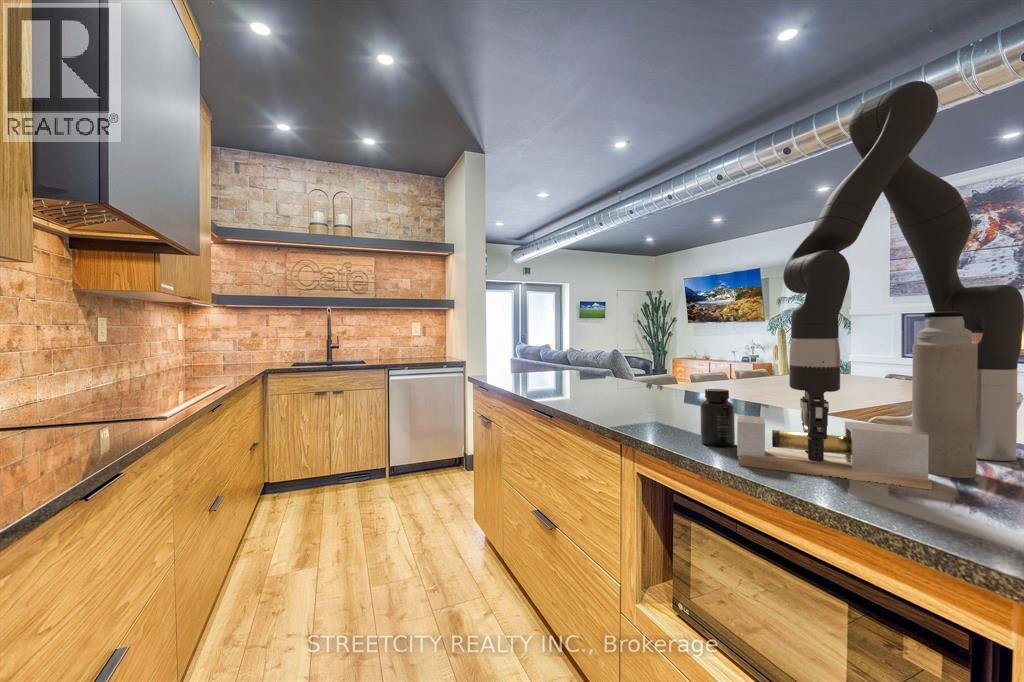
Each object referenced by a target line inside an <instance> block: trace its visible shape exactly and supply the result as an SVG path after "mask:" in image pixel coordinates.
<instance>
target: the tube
mask: <svg viewBox="0 0 1024 682" xmlns="http://www.w3.org/2000/svg"><path fill="white" fill-rule="evenodd" d="M771 433H772V434H771V441H772V443H771V447H772V448H776V449H777V448H779V449H788V450H797V451H798V450H799V451H804V452H805V451H808V438H807V433H806V432H801V431H800V432H799V431H788V430H776V429H772V431H771ZM825 453H826V454H832V455H833V454H835V455H843V456H845V455H851V437H847V436H845V435H833V434H827V438H826V439H825V441H824V454H825Z"/></svg>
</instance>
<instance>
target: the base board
mask: <svg viewBox="0 0 1024 682" xmlns="http://www.w3.org/2000/svg"><path fill="white" fill-rule="evenodd" d="M738 466H744V467H751V468H757V469H758V468H760V469H768V470H772V471H773V470H774V471H775V470H776V471H781V470H782V472H789V473H790V472H791V473H799V474H805V473H806V474H805V475H807V474H808V475H814V476H820V475H823V476H822V477H828V476H832V477H831V478H836V477H840V478H839V479H844V478H847V479H846V480H854V481H861V482H868V481H870V482H869V483H875V482H878V483H877V484H883V483H887V484H886V485H891V484H894V485H893V486H899V485H901V487H908V488H915V489H916V488H917V489H924V490H932V486H933V483H932V482H933V481H932V480H930V479H929V478H928V479H926V478H918V477H909V476H901V475H892V474H884V473H876V472H867V471H859V470H852V469H851V462H848V461H845V456H837V455H836V456H835V455H828V454H827V455H826V454H824V460H823V461H822V462H817V461H810V460H809V459H808V454H807V453H806V452H799V451H798V452H797V451H789V450H780V449H772V448H771V449H770V448H765V460H764V459H756V458H748V457H739V456H738Z"/></svg>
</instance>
